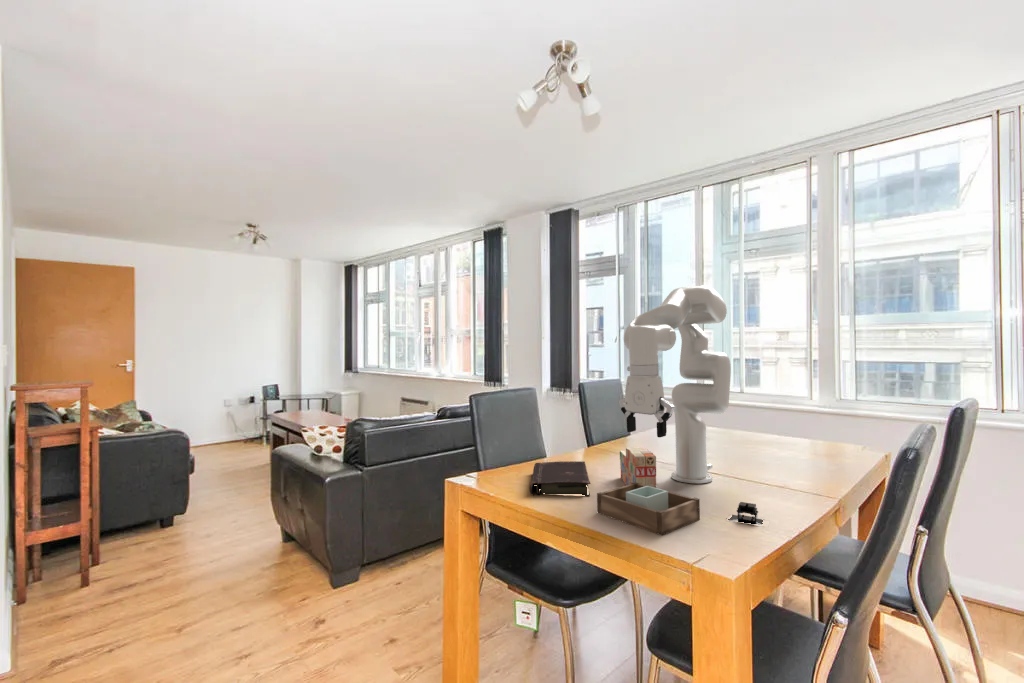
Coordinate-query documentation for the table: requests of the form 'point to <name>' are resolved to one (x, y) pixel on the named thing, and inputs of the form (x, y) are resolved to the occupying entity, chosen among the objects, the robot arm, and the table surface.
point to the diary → (560, 477)
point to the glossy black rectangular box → (748, 509)
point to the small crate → (649, 498)
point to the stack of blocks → (638, 466)
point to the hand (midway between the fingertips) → (646, 433)
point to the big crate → (649, 510)
